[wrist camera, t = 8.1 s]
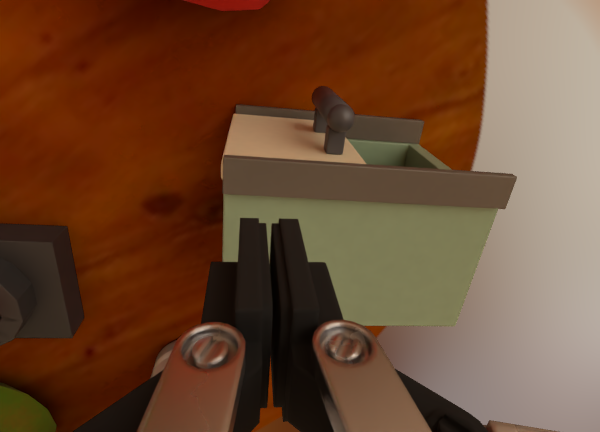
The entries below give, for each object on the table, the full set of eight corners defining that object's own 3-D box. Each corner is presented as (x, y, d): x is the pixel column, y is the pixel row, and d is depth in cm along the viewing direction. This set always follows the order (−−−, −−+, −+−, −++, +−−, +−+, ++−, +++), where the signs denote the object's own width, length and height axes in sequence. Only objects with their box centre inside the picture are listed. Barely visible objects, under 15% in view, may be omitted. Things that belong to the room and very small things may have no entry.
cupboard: (236, 104, 23) (222, 157, 14) (421, 119, 25) (517, 176, 16) (232, 226, 27) (220, 331, 18) (394, 233, 29) (459, 332, 20)
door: (234, 72, 22) (221, 101, 14) (339, 82, 23) (384, 115, 15) (232, 126, 23) (220, 180, 15) (332, 134, 24) (369, 189, 16)
